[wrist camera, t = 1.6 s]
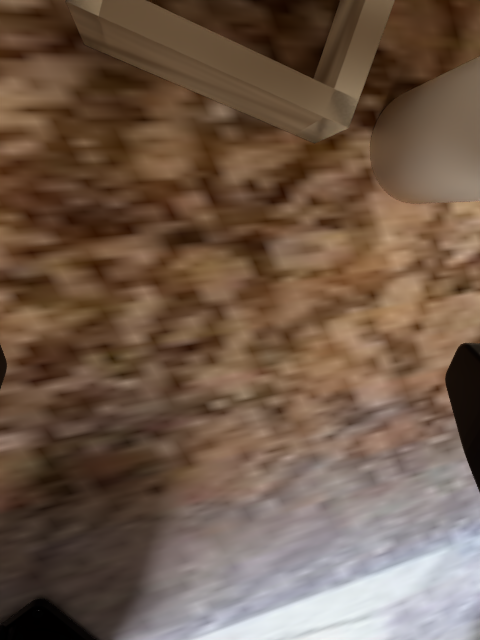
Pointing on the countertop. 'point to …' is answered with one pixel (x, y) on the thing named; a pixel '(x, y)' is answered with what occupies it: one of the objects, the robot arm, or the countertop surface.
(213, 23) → the countertop surface
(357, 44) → the beech slot rack
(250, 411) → the countertop surface
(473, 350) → the robot arm
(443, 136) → the cylinder
